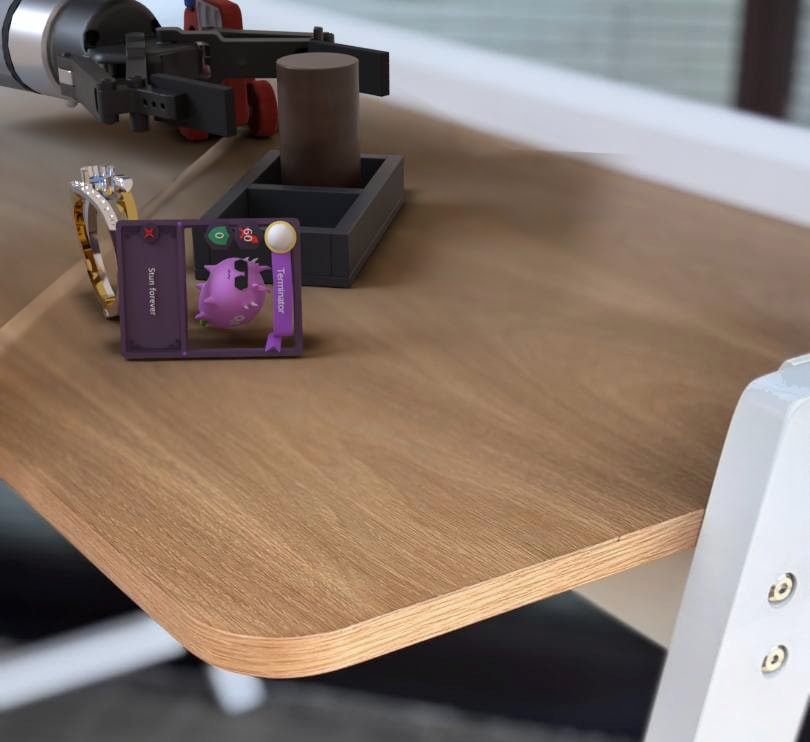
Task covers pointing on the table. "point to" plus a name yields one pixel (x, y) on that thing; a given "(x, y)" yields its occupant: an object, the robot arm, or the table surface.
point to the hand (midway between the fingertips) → (312, 92)
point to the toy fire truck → (251, 96)
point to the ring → (96, 196)
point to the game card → (204, 285)
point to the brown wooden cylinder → (319, 120)
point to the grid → (311, 219)
